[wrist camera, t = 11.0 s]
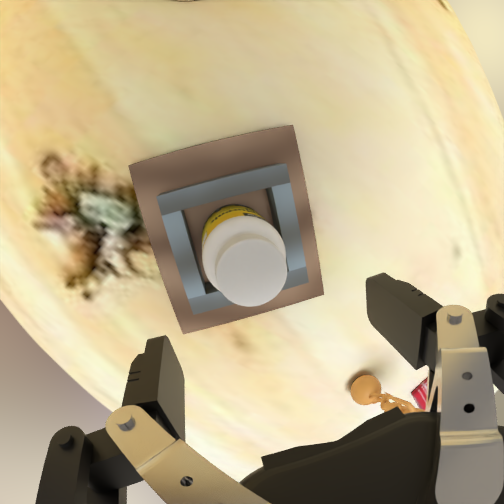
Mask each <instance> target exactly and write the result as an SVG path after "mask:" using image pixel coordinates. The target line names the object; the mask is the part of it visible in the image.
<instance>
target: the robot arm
mask: <svg viewBox="0 0 504 504" xmlns="http://www.w3.org/2000/svg"><path fill="white" fill-rule="evenodd" d="M178 1H192V0H178ZM366 300H367V315H368V318H369V321H370V323H371V324H372V325H373V326H374V328H375V329H376V330H377V331H378V332H379V333H380V334H381V335H382V336H383V337H384V338H385V339H386V340H387V341H388V342H389V343H390V344H391V345H392V346H393V347H394V348H395V349H396V350H397V351H398V352H399V353H400V354H401V355H402V356H403V357H404V358H405V359H406V360H407V361H408V362H409V363H410V364H411V365H412V367H413V368H414V369H415V370H417V369H419V368H421V367H423V366H425V365H427V366H428V367H429V370H428V380H427V397H426V409H425V412H422V411H421V412H411V413H405V414H403V413H402V411H401V410H400V409H399V407H398V406H397V407H395V408H393V409H391V410H389V411H386V412H384V413H382V414H380V415H378V416H376V417H373V418H371V419H369V420H367V421H366V422H364V423H363V424H361V425H360V426H359V427H357V428H356V429H354V430H353V431H351V432H350V433H348V434H347V435H345V436H344V437H342V438H341V439H339V440H337V441H334V442H328V443H321V444H314V445H306V446H298V447H294V448H291V449H287V450H284V451H281V452H277V453H274V454H270V455H266V456H262V457H261V458H262V462H263V467H261V468H259V469H257V470H256V471H254V472H252V473H251V474H249V475H248V476H247V477H245V478H244V479H243V480H242V481H240V482H239V483H238V482H237V481H235V480H234V479H232V478H231V477H229V476H228V475H227V474H225V473H224V472H222V471H221V470H220V469H218V468H217V467H216V466H214V465H213V464H212V463H210V462H209V461H208V460H206V459H205V458H204V457H202V456H201V455H200V454H199V453H197V452H196V451H195V450H194V449H192V448H191V447H190V446H189V445H188V444H186V443H185V401H184V375H183V371H182V368H181V366H180V363H179V361H178V359H177V357H176V354H175V352H174V350H173V348H172V345H171V343H170V341H169V339H168V337H167V336H166V335H165V336H161V337H156V338H152V339H148V340H147V343H146V348H145V352H144V353H143V354H138V355H137V357H136V358H135V359H134V361H133V362H132V363H131V367H130V371H129V374H130V375H129V376H128V380H127V381H128V382H127V384H126V389H125V393H124V398H123V402H122V407H121V408H119V409H117V410H115V411H114V412H113V413H112V414H111V415H110V416H109V417H108V419H107V421H106V427H105V428H103V429H101V430H98V431H95V432H92V433H90V434H87V435H85V434H84V432H83V431H82V430H81V429H80V428H78V427H76V426H68V427H64V428H62V429H61V430H59V431H58V432H56V433H55V435H54V436H53V437H52V439H51V441H50V445H49V448H48V452H47V456H46V460H45V463H44V467H43V471H42V476H41V480H40V484H39V489H38V494H37V498H36V504H126V503H127V501H126V500H127V498H126V497H127V486H129V485H132V484H135V483H137V482H140V481H143V480H145V481H146V482H147V483H148V484H149V486H150V487H151V488H152V489H153V490H154V491H155V492H156V493H157V494H158V495H159V496H160V498H161V499H162V500H163V501H164V502H165V503H166V504H504V427H503V426H498V425H497V416H496V404H495V396H494V388H493V384H494V385H495V386H496V387H497V388H498V389H499V390H500V391H501V392H502V393H503V394H504V294H495V295H492V296H490V297H489V298H488V300H487V304H486V309H485V310H481V311H477V312H473V313H471V311H470V310H469V309H467V308H465V307H463V306H460V305H448V306H444V307H443V306H442V305H440V304H439V303H437V302H436V301H435V300H433V299H432V298H430V297H429V296H427V295H426V294H423V292H421V291H420V290H417V288H415V287H414V286H412V285H411V284H409V283H407V282H403V281H400V280H395V279H393V278H392V277H390V276H389V275H387V274H386V273H380V274H378V275H375V276H372V277H369V278H367V280H366Z"/></svg>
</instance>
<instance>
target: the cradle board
mask: <svg viewBox="0 0 504 504" xmlns="http://www.w3.org/2000/svg"><path fill="white" fill-rule="evenodd" d="M129 170H130V174H131V177H132V181H133V185H134V189H135V192H136V196H137V199H138V203H139V206H140V210H141V213H142V217H143V220H144V223H145V227H146V230H147V233H148V236H149V240H150V243H151V246H152V249H153V252H154V255H155V258H156V261H157V264H158V267H159V270H160V273H161V276H162V279H163V282H164V284H165V287H166V290H167V293H168V296H169V298H170V301H171V304H172V306H173V309H174V312H175V314H176V317H177V320H178V322H179V325H180V327H181V330H182V333H183V334H186V333H190V332H194V331H198V330H202V329H206V328H210V327H214V326H218V325H222V324H225V323H229V322H233V321H236V320H240V319H244V318H247V317H251V316H254V315H258V314H261V313H265V312H268V311H272V310H275V309H278V308H282V307H285V306H289V305H292V304H295V303H298V302H302V301H305V300H308V299H311V298H314V297H318V296H321V295H324V291H323V284H322V277H321V270H320V263H319V257H318V251H317V245H316V239H315V233H314V227H313V221H312V215H311V210H310V204H309V199H308V194H307V189H306V184H305V178H304V173H303V169H302V164H301V159H300V154H299V150H298V145H297V140H296V136H295V131H294V127H293V125H289V126H283V127H277V128H272V129H267V130H262V131H257V132H252V133H247V134H242V135H238V136H233V137H229V138H225V139H220V140H216V141H212V142H208V143H204V144H200V145H196V146H193V147H189V148H185V149H181V150H178V151H174V152H171V153H167V154H164V155H161V156H157V157H154V158H151V159H147V160H144V161H141V162H138V163H135V164H132V165H129ZM229 204H241V205H245V206H247V207H250V208H251V209H253V210H255V211H256V212H257V213H258V214H259V215H261V216H262V217H263V218H264V219H265V220H266V221H267V222H269V223H270V224H271V225H272V226H273V227H274V228H275V229H276V230H277V232H278V233H279V235H280V236H281V238H282V240H283V242H284V245H285V251H286V264H287V278H286V282H285V284H284V286H283V288H282V290H281V291H280V292H279V293H278V295H277V296H276V297H274V298H273V299H272V300H270V301H269V302H267V303H265V304H262V305H259V306H252V307H247V306H241V305H237V304H235V303H233V302H231V301H230V300H228V299H227V298H226V297H225V296H224V295H223V294H222V292H220V291H219V290H218V289H216V288H215V287H214V286H213V285H212V283H211V282H210V281H209V279H208V278H207V276H206V273H205V271H204V267H203V261H202V231H203V227H204V224H205V222H206V220H207V219H208V217H209V216H210V215H211V214H212V213H213V212H214V211H215V210H217V209H218V208H220V207H222V206H225V205H229Z"/></svg>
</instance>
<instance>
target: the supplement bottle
mask: <svg viewBox="0 0 504 504" xmlns="http://www.w3.org/2000/svg"><path fill="white" fill-rule="evenodd" d="M202 261H203V267H204V271H205V273H206V276H207V278H208V279H209V281H210V282H211V283H212V285H213V286H214V287H215V288H216V289H218V290H219V291H220V292H222V294H223V295H224V296H225V297H226V298H227V299H228V300H230V301H231V302H233V303H235V304H237V305H241V306H247V307H252V306H259V305H262V304H265V303H267V302H269V301H270V300H272V299H273V298H274V297H276V296H277V295H278V293H279V292H280V291H281V290H282V288H283V286H284V284H285V282H286V278H287V264H286V251H285V245H284V242H283V240H282V238H281V236H280V235H279V233H278V232H277V230H276V229H275V228H274V227H273V226H272V225H271V224H270V223H269V222H267V221H266V220H265V219H264V218H263V217H262V216H261V215H259V214H258V213H257V212H256V211H255V210H253V209H251V208H250V207H247V206H245V205H241V204H229V205H225V206H222V207H220V208H218V209H217V210H215V211H214V212H213V213H212V214H211V215H210V216H209V217H208V219H207V220H206V222H205V224H204V227H203V231H202Z"/></svg>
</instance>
